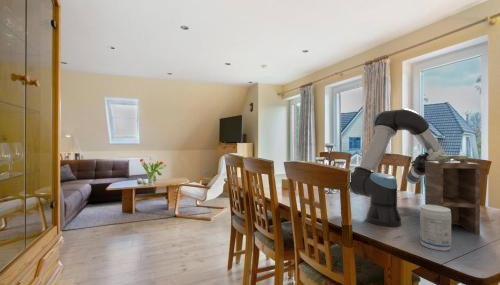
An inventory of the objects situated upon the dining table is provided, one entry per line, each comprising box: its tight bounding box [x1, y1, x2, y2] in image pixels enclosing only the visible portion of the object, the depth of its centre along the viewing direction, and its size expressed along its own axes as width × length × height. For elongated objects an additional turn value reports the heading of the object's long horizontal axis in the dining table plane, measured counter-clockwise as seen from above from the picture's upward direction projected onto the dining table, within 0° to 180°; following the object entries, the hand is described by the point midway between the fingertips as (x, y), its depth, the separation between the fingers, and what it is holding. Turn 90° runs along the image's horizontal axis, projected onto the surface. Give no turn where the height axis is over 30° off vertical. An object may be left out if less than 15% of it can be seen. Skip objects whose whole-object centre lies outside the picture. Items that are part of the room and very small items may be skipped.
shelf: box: [424, 154, 481, 235], centre depth 114 cm, size 15×14×33 cm
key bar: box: [427, 152, 450, 161], centre depth 124 cm, size 4×18×4 cm, turn 166°
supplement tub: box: [419, 204, 452, 252], centre depth 94 cm, size 10×10×15 cm
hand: (437, 150), depth 126 cm, fingers closed on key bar, 4 cm apart
